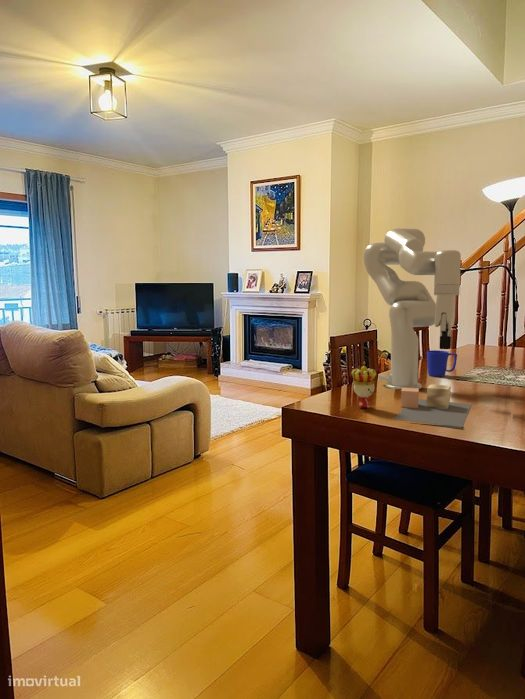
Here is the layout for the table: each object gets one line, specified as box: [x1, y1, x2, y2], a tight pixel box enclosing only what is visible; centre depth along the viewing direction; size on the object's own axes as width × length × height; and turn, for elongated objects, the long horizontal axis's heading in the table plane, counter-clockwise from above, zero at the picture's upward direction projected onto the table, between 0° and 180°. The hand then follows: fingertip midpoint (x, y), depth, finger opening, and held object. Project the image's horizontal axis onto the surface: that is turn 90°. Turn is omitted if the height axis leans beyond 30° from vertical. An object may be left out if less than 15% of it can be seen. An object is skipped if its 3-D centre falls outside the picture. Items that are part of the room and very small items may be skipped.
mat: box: [392, 398, 473, 430], centre depth 150 cm, size 18×28×1 cm, turn 153°
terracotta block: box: [400, 388, 420, 408], centre depth 157 cm, size 5×5×5 cm
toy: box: [351, 360, 377, 410], centre depth 154 cm, size 7×7×15 cm
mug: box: [426, 349, 458, 378], centre depth 209 cm, size 8×12×10 cm
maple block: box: [426, 384, 451, 409], centre depth 156 cm, size 6×6×6 cm
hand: (445, 348), depth 161 cm, fingers closed
